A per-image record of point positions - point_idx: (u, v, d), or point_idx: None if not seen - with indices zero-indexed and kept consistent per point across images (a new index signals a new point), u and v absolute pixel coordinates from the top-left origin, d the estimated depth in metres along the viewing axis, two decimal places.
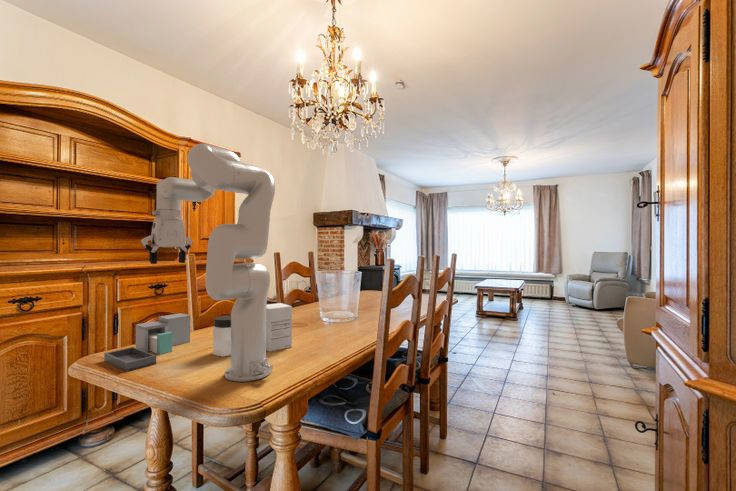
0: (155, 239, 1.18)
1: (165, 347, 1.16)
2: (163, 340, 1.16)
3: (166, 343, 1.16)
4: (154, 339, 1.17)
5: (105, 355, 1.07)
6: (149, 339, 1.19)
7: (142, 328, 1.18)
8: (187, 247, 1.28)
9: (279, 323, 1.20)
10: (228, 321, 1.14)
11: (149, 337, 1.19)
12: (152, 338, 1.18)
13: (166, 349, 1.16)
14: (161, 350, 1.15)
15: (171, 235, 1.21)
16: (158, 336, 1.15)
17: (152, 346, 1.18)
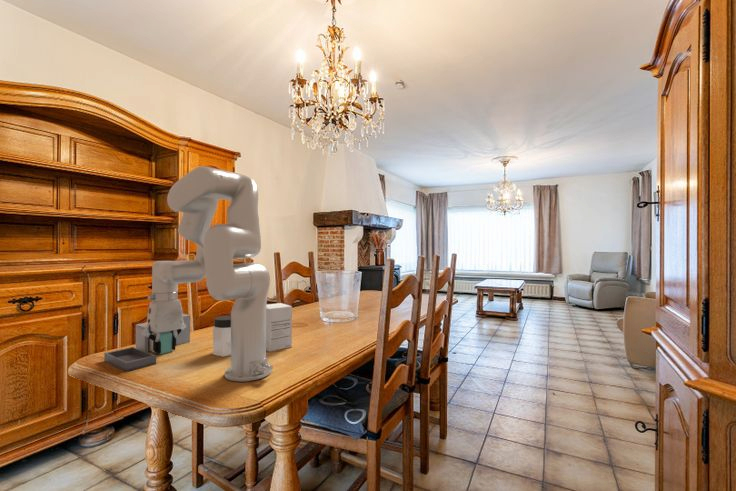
0: (151, 326, 1.12)
1: (165, 347, 1.16)
2: (163, 340, 1.16)
3: (166, 343, 1.16)
4: None
5: (105, 355, 1.07)
6: (149, 339, 1.19)
7: (142, 328, 1.18)
8: (178, 332, 1.20)
9: (279, 323, 1.20)
10: (228, 321, 1.14)
11: None
12: None
13: (166, 349, 1.16)
14: (161, 350, 1.15)
15: (168, 319, 1.15)
16: None
17: (152, 346, 1.18)
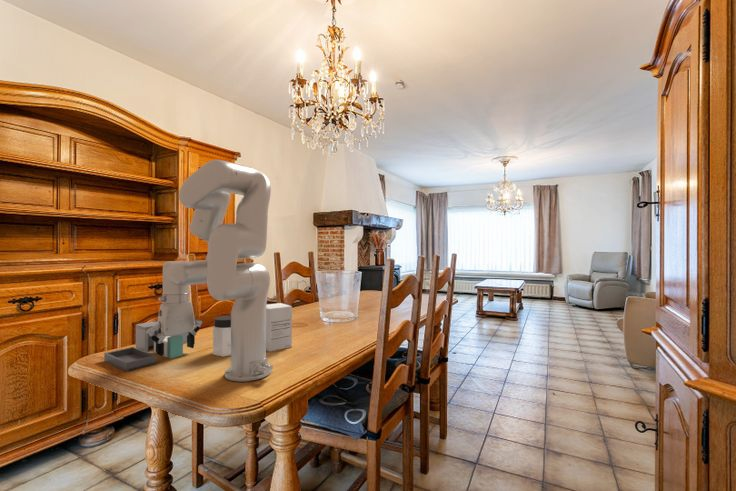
0: (162, 329, 1.08)
1: (176, 351, 1.12)
2: (174, 343, 1.12)
3: (177, 346, 1.13)
4: (164, 342, 1.13)
5: (105, 355, 1.07)
6: None
7: (142, 328, 1.18)
8: (196, 330, 1.18)
9: (279, 323, 1.20)
10: (228, 321, 1.14)
11: None
12: (162, 341, 1.14)
13: (177, 353, 1.13)
14: (172, 354, 1.11)
15: (179, 322, 1.11)
16: (169, 339, 1.11)
17: None
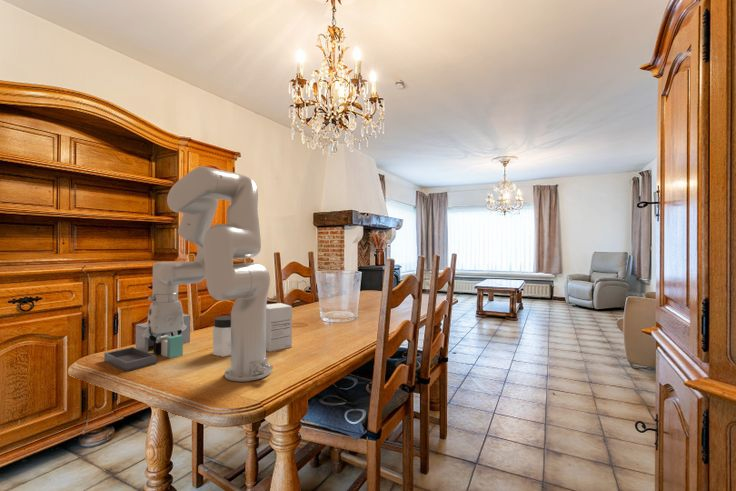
0: (151, 327, 1.12)
1: (176, 351, 1.12)
2: (174, 343, 1.12)
3: (177, 346, 1.13)
4: (164, 342, 1.13)
5: (105, 355, 1.07)
6: None
7: (142, 328, 1.18)
8: (178, 333, 1.19)
9: (279, 323, 1.20)
10: (228, 321, 1.14)
11: None
12: (162, 341, 1.14)
13: (177, 353, 1.13)
14: (172, 354, 1.11)
15: (168, 320, 1.15)
16: (168, 339, 1.11)
17: (162, 349, 1.14)
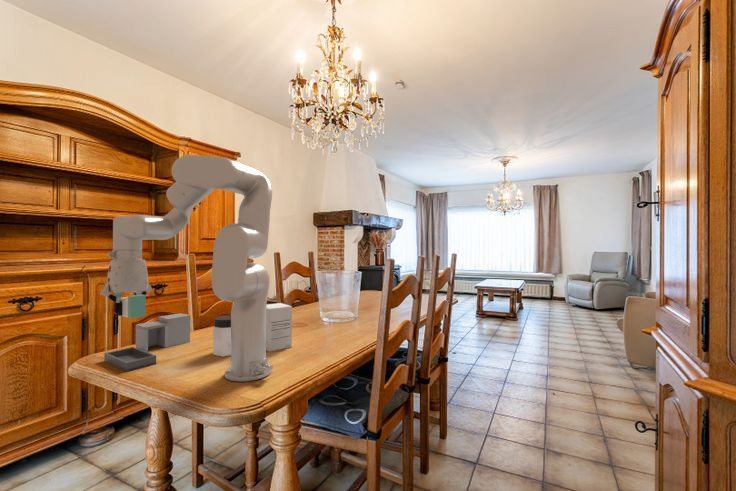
0: (110, 285, 1.03)
1: (137, 311, 1.04)
2: (135, 302, 1.03)
3: (138, 306, 1.04)
4: (125, 302, 1.04)
5: (105, 355, 1.07)
6: None
7: (142, 328, 1.18)
8: (142, 294, 1.11)
9: (279, 323, 1.20)
10: (228, 321, 1.14)
11: None
12: (123, 301, 1.05)
13: (138, 313, 1.04)
14: (132, 314, 1.03)
15: (130, 279, 1.06)
16: (129, 298, 1.03)
17: (123, 310, 1.05)
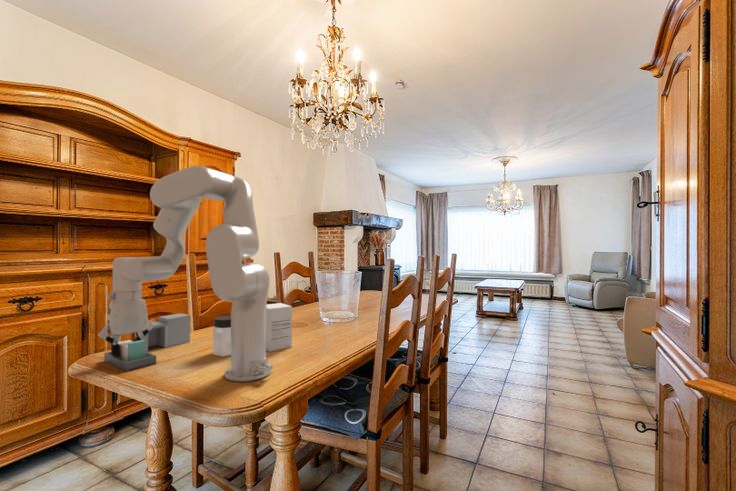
0: (110, 327, 1.03)
1: (137, 357, 1.04)
2: (135, 349, 1.03)
3: (138, 353, 1.04)
4: (125, 348, 1.04)
5: (105, 355, 1.07)
6: (120, 348, 1.06)
7: None
8: (144, 333, 1.11)
9: (279, 323, 1.20)
10: (228, 321, 1.14)
11: (120, 346, 1.06)
12: (123, 347, 1.05)
13: None
14: None
15: (130, 320, 1.06)
16: (129, 345, 1.03)
17: (123, 356, 1.05)
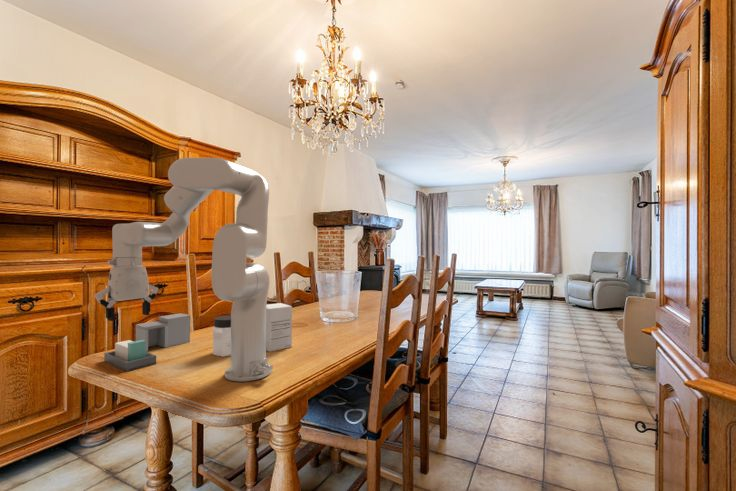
0: (111, 293, 1.03)
1: (137, 357, 1.04)
2: (135, 349, 1.03)
3: (138, 353, 1.04)
4: (125, 348, 1.04)
5: (105, 355, 1.07)
6: (120, 348, 1.06)
7: (142, 328, 1.18)
8: (152, 297, 1.13)
9: (279, 323, 1.20)
10: (228, 321, 1.14)
11: (120, 346, 1.06)
12: (123, 347, 1.05)
13: None
14: None
15: (131, 286, 1.06)
16: (129, 345, 1.03)
17: (123, 356, 1.05)
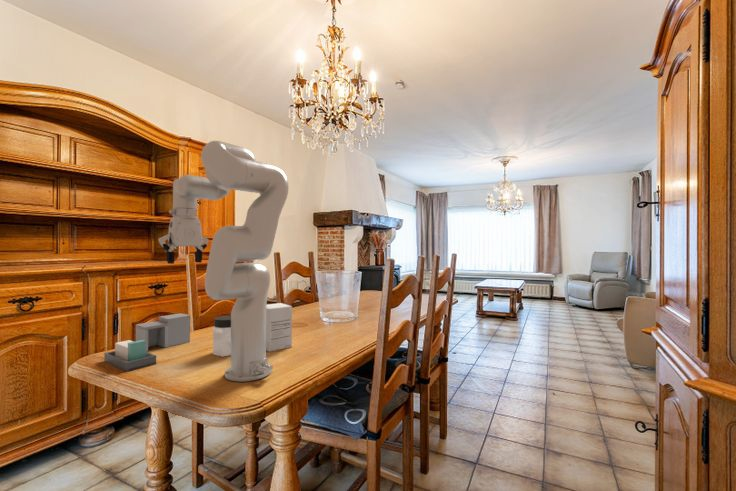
0: (172, 238, 1.16)
1: (137, 357, 1.04)
2: (135, 349, 1.03)
3: (138, 353, 1.04)
4: (125, 348, 1.04)
5: (105, 355, 1.07)
6: (120, 348, 1.06)
7: (142, 328, 1.18)
8: (203, 246, 1.26)
9: (279, 323, 1.20)
10: (228, 321, 1.14)
11: (120, 346, 1.06)
12: (123, 347, 1.05)
13: None
14: None
15: (188, 234, 1.19)
16: (129, 345, 1.03)
17: (123, 356, 1.05)
